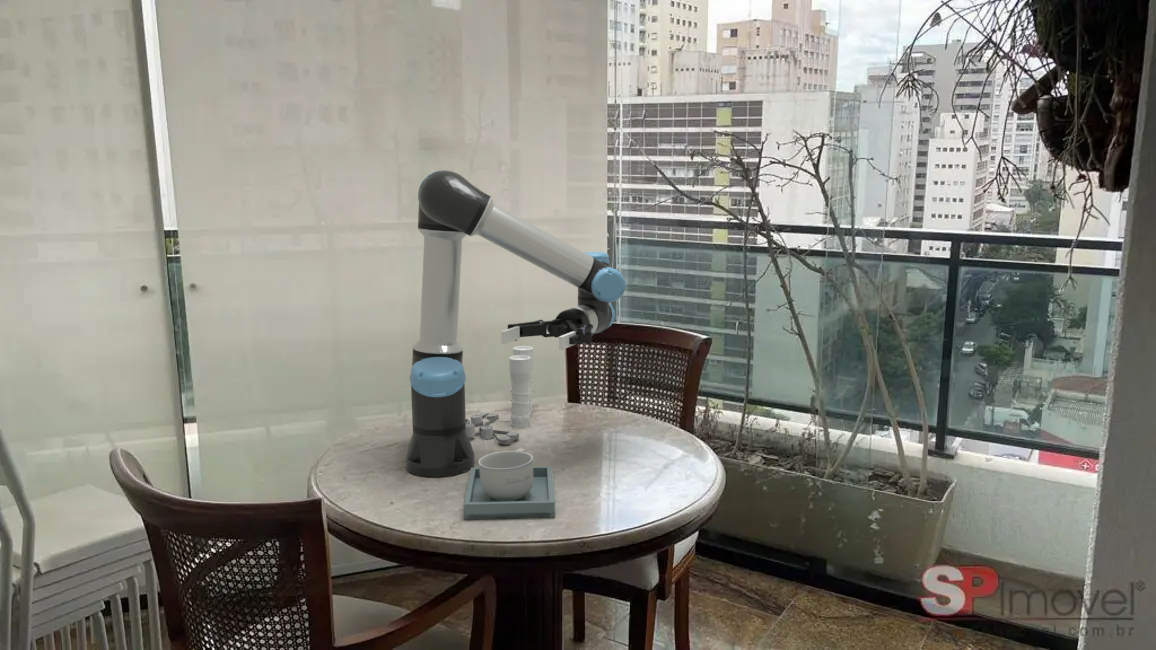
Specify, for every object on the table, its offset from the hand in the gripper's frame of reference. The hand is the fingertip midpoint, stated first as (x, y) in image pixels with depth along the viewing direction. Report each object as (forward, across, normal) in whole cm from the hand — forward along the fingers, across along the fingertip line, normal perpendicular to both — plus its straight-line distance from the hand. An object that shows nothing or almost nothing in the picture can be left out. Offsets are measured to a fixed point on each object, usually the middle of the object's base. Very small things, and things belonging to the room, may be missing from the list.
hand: (531, 340), depth 173 cm
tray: (+12, -2, -30) cm, 32 cm away
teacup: (+12, -2, -29) cm, 32 cm away
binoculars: (-37, +23, -30) cm, 53 cm away
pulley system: (-23, +28, -31) cm, 47 cm away
